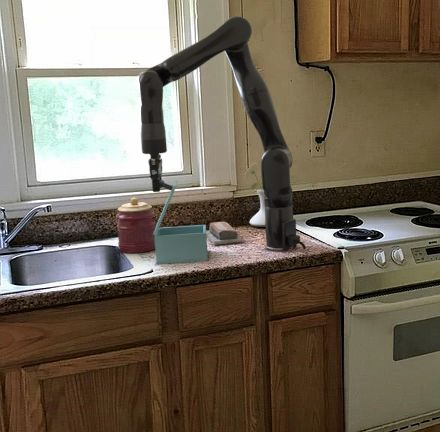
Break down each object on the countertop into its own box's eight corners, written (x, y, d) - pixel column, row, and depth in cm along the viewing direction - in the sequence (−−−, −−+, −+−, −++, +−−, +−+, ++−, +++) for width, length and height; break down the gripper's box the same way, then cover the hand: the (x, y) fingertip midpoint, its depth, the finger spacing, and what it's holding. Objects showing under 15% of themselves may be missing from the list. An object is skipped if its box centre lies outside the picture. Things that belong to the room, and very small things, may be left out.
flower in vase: (267, 221, 253) (264, 158, 249) (285, 225, 245) (282, 160, 240) (240, 226, 246) (236, 162, 241) (257, 231, 237) (253, 164, 232)
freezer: (207, 250, 211) (205, 224, 209) (207, 260, 199) (205, 233, 197) (159, 253, 209) (157, 227, 207) (156, 264, 197) (154, 236, 195)
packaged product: (203, 222, 233) (230, 219, 236) (204, 235, 234) (231, 232, 237) (213, 232, 216) (242, 229, 219) (214, 246, 217) (242, 242, 220)
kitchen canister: (146, 242, 226) (142, 193, 223) (164, 248, 217) (160, 196, 213) (112, 249, 218) (107, 198, 215) (130, 255, 208) (125, 202, 205)
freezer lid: (177, 180, 205) (162, 174, 204) (176, 186, 193) (159, 179, 192) (158, 226, 207) (142, 220, 206) (155, 235, 195) (138, 228, 194)
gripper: (164, 138, 189) (168, 192, 192) (167, 135, 203) (171, 185, 206) (138, 139, 188) (143, 194, 191) (143, 136, 202) (147, 187, 205)
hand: (157, 189), depth 199 cm, fingers open, 8 cm apart
